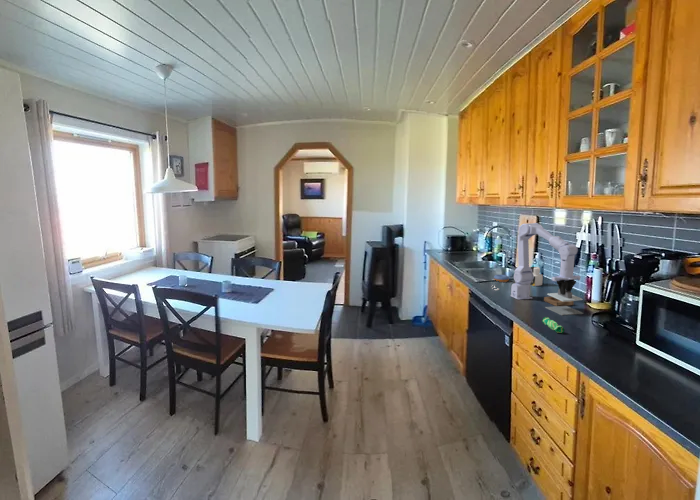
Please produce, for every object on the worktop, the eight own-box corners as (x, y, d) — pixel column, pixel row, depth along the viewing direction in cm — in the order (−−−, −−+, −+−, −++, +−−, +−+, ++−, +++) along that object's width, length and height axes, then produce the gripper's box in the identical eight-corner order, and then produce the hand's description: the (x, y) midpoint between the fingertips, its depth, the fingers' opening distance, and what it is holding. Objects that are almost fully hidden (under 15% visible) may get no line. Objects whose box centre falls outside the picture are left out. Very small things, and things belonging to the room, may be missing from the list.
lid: (562, 302, 171) (563, 294, 170) (547, 296, 182) (547, 288, 181) (582, 301, 172) (583, 293, 172) (566, 294, 183) (566, 287, 182)
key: (492, 290, 219) (499, 291, 218) (492, 289, 219) (499, 289, 218) (490, 286, 230) (497, 286, 229) (490, 284, 230) (497, 285, 229)
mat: (561, 315, 171) (561, 314, 171) (545, 307, 183) (545, 307, 183) (583, 313, 173) (583, 313, 173) (565, 306, 185) (565, 305, 184)
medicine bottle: (525, 284, 232) (526, 266, 230) (533, 282, 234) (534, 265, 232) (534, 286, 225) (535, 268, 223) (542, 285, 228) (543, 267, 226)
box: (556, 306, 184) (556, 302, 184) (543, 301, 194) (544, 297, 194) (573, 305, 186) (573, 301, 185) (559, 300, 195) (560, 296, 195)
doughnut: (500, 278, 249) (500, 272, 248) (512, 281, 240) (512, 275, 239) (490, 281, 244) (490, 275, 243) (502, 284, 236) (502, 278, 235)
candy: (566, 331, 149) (561, 324, 149) (559, 336, 150) (554, 328, 149) (551, 321, 161) (546, 315, 161) (545, 325, 162) (540, 319, 161)
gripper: (559, 270, 170) (557, 297, 172) (586, 268, 171) (584, 295, 173) (549, 267, 177) (548, 293, 179) (575, 266, 178) (573, 291, 180)
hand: (565, 293), depth 176 cm, fingers closed on lid, 2 cm apart
